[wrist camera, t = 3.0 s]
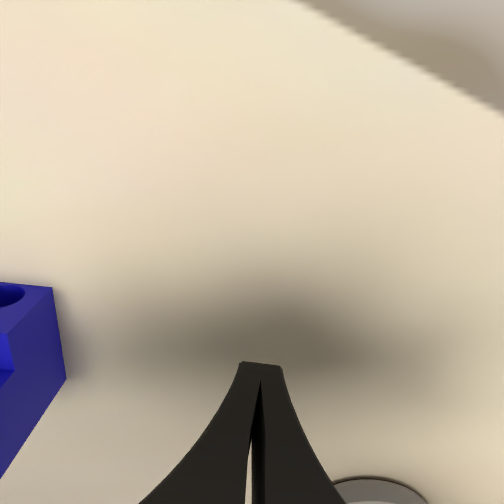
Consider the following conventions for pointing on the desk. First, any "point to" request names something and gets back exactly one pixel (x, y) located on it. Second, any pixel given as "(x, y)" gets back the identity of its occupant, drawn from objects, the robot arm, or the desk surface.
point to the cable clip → (26, 363)
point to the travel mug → (376, 492)
